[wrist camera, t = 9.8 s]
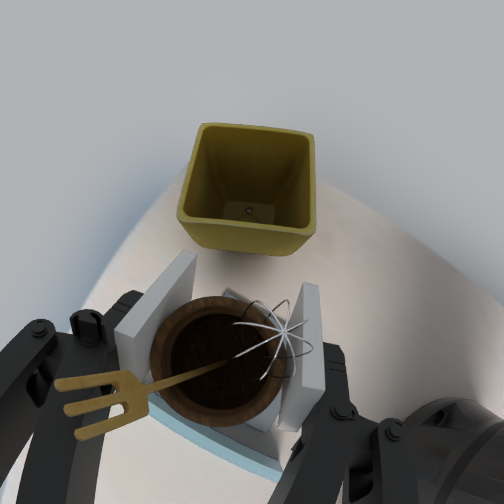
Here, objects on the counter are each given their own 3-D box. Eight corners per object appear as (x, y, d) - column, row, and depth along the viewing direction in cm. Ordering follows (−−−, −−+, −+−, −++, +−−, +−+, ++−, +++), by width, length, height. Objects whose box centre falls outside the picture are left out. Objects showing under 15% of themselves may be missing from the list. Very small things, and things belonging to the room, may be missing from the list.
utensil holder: (295, 381, 16) (388, 417, 5) (200, 424, 15) (124, 521, 4) (251, 296, 18) (260, 184, 7) (159, 338, 17) (30, 293, 5)
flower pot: (296, 192, 29) (314, 131, 20) (293, 275, 26) (316, 234, 17) (210, 184, 29) (200, 121, 21) (195, 265, 26) (173, 220, 17)
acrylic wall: (279, 461, 20) (283, 473, 17) (273, 469, 19) (277, 482, 17) (138, 382, 22) (125, 384, 19) (133, 390, 22) (120, 393, 19)
